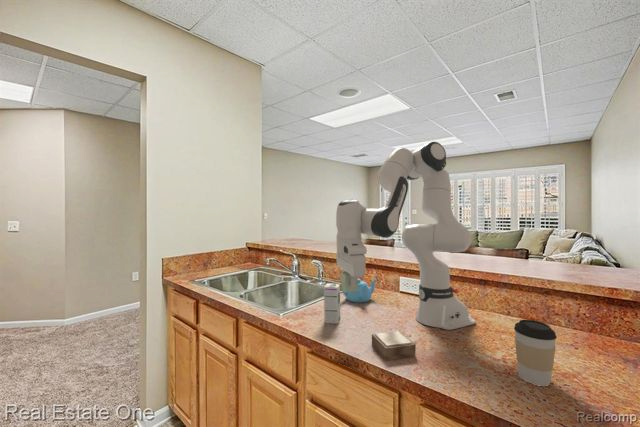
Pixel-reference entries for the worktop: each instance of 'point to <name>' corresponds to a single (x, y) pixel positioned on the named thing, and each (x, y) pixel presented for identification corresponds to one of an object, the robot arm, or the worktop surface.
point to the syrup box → (332, 303)
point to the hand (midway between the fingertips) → (349, 283)
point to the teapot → (360, 292)
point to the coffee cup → (535, 351)
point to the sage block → (347, 282)
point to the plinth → (393, 345)
